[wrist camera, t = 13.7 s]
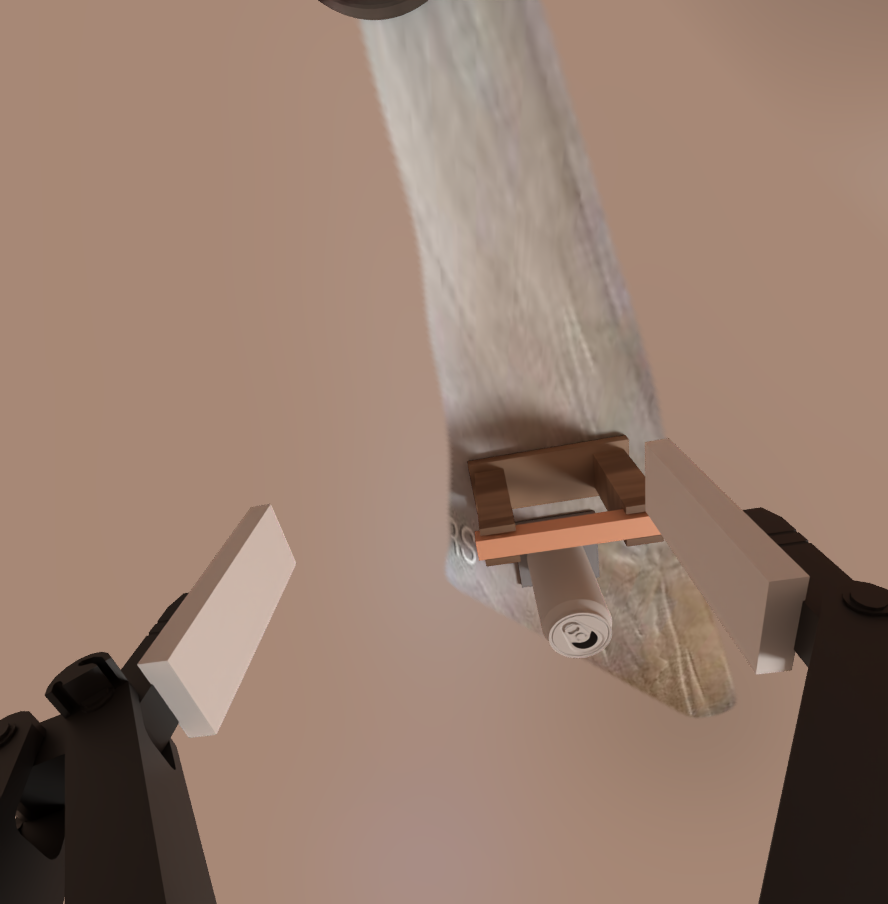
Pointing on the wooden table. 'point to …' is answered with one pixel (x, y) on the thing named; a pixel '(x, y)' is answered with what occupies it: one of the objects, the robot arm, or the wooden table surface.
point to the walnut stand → (556, 483)
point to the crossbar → (565, 533)
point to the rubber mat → (589, 549)
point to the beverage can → (570, 602)
